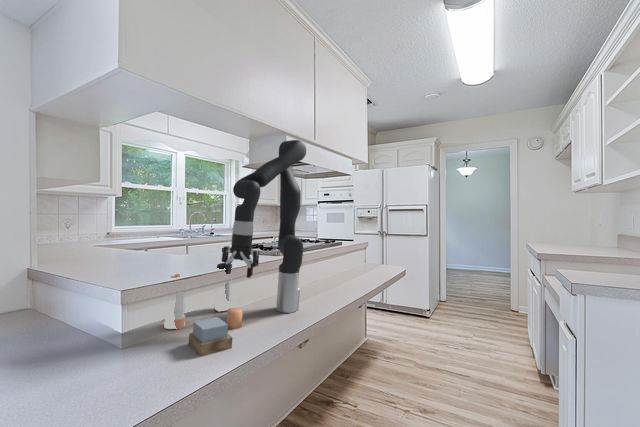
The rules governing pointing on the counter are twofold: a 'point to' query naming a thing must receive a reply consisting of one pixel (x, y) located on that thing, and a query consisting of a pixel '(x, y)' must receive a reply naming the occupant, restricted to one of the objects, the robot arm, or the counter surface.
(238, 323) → the terracotta drum
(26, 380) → the counter surface
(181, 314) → the salt shaker
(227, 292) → the travel mug
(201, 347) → the walnut base block
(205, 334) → the slate top block
